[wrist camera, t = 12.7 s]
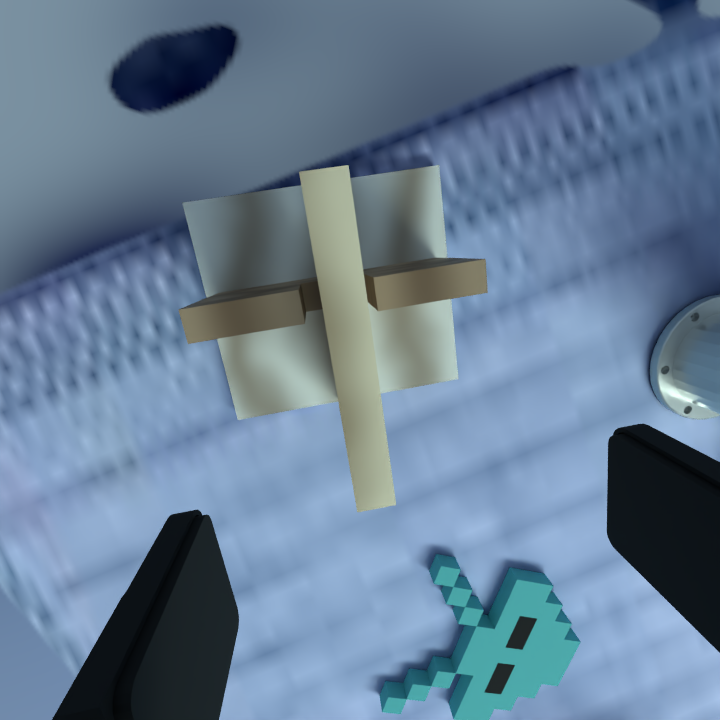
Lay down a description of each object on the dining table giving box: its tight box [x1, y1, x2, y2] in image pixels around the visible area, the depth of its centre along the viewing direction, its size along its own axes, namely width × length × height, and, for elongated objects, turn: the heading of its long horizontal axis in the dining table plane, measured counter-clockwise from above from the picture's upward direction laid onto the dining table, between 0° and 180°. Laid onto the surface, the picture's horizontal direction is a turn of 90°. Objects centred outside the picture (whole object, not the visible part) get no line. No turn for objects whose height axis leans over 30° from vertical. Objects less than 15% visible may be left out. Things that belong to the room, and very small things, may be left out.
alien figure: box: [380, 554, 580, 720], centre depth 46 cm, size 20×2×20 cm
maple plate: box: [299, 165, 396, 512], centre depth 26 cm, size 2×16×16 cm, turn 8°
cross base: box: [179, 165, 488, 420], centre depth 29 cm, size 20×18×11 cm
